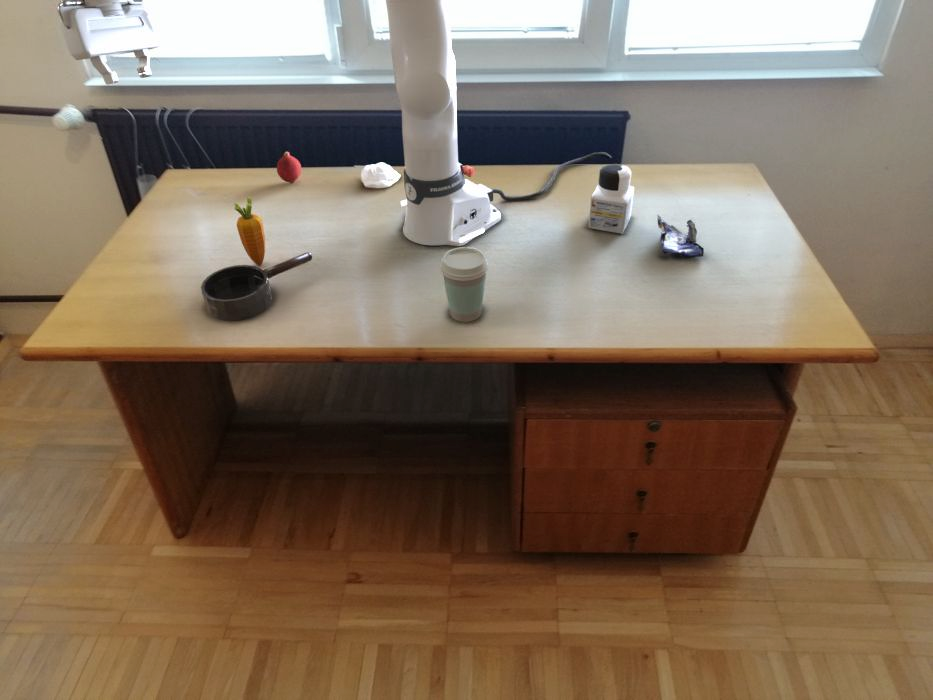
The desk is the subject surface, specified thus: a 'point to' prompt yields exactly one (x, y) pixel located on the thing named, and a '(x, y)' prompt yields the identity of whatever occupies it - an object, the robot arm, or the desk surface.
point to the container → (612, 199)
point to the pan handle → (288, 265)
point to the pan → (236, 292)
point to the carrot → (251, 233)
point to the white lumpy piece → (378, 175)
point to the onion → (288, 168)
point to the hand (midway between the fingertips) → (130, 80)
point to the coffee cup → (464, 282)
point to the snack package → (679, 240)
